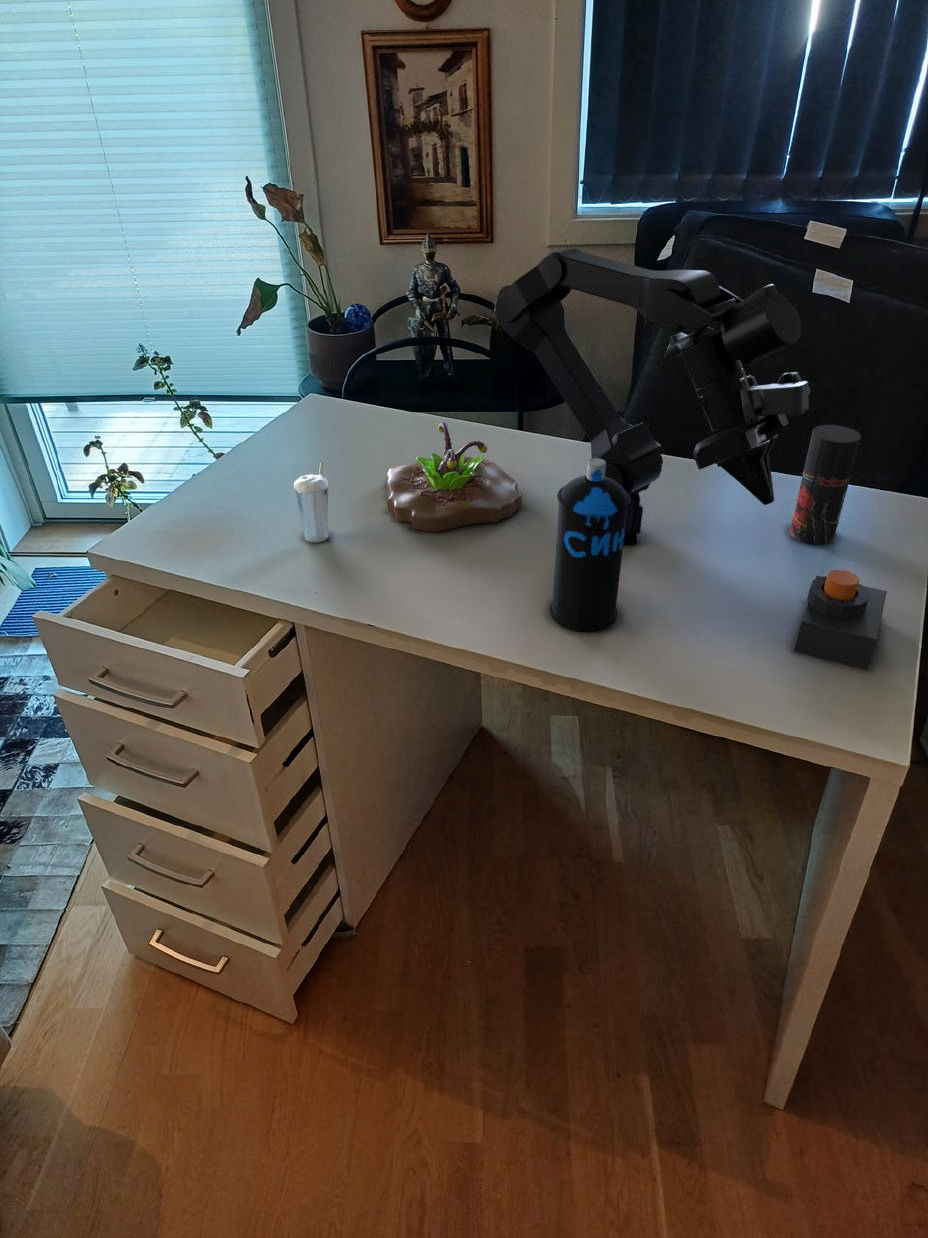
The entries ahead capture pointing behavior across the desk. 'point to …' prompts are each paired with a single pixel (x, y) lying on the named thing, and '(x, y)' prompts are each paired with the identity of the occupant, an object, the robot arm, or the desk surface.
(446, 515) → the plant
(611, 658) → the desk surface
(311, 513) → the milkshake
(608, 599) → the aerosol can
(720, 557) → the desk surface
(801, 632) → the push button box
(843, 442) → the deodorant
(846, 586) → the orange push button
